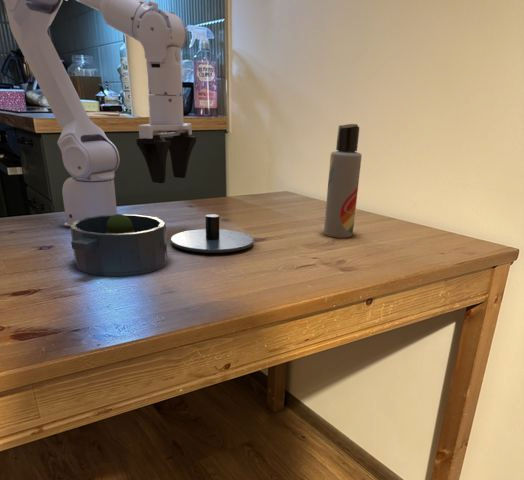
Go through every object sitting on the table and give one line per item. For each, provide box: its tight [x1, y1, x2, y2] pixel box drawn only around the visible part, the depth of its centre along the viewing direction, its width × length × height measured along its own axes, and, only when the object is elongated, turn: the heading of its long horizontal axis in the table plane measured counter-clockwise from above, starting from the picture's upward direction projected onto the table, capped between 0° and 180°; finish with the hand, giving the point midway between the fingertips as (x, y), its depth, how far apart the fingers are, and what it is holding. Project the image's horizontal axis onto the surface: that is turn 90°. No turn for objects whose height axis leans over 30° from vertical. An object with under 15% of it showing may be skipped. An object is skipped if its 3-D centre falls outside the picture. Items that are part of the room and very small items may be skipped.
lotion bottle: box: [323, 123, 363, 239], centre depth 94 cm, size 6×6×20 cm
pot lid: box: [170, 213, 255, 254], centre depth 88 cm, size 15×15×5 cm
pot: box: [69, 213, 168, 277], centre depth 76 cm, size 14×19×6 cm
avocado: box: [106, 213, 135, 234], centre depth 76 cm, size 5×5×7 cm
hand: (169, 180), depth 90 cm, fingers open, 7 cm apart
